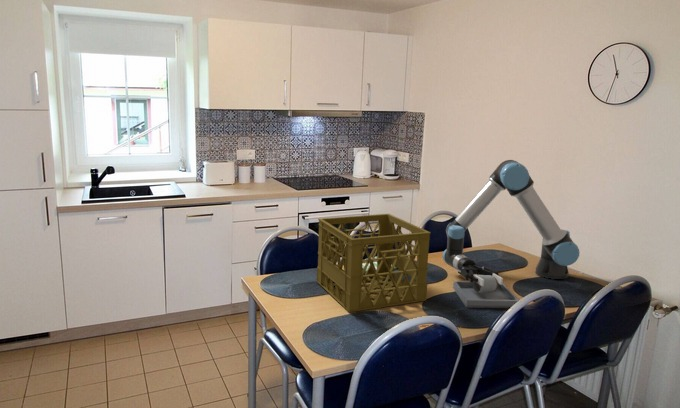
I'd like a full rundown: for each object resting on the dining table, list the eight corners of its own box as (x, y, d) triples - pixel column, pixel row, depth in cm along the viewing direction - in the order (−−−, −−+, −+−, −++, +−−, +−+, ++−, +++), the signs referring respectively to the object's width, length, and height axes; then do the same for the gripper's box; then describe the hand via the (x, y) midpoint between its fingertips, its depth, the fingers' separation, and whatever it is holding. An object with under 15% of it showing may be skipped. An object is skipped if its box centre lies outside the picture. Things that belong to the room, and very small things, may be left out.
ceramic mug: (497, 294, 216) (499, 277, 215) (480, 295, 214) (481, 278, 213) (485, 286, 226) (486, 269, 225) (468, 286, 224) (469, 270, 223)
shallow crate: (501, 288, 230) (501, 281, 229) (519, 308, 209) (520, 301, 208) (453, 287, 229) (453, 281, 229) (466, 307, 208) (466, 300, 207)
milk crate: (316, 283, 230) (318, 218, 224) (385, 274, 244) (388, 213, 238) (349, 313, 199) (351, 239, 193) (426, 301, 213) (430, 232, 207)
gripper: (483, 271, 238) (513, 288, 217) (443, 274, 232) (469, 292, 210) (485, 255, 236) (515, 272, 215) (444, 258, 230) (471, 275, 209)
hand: (492, 282), depth 213 cm, fingers closed on ceramic mug, 8 cm apart
